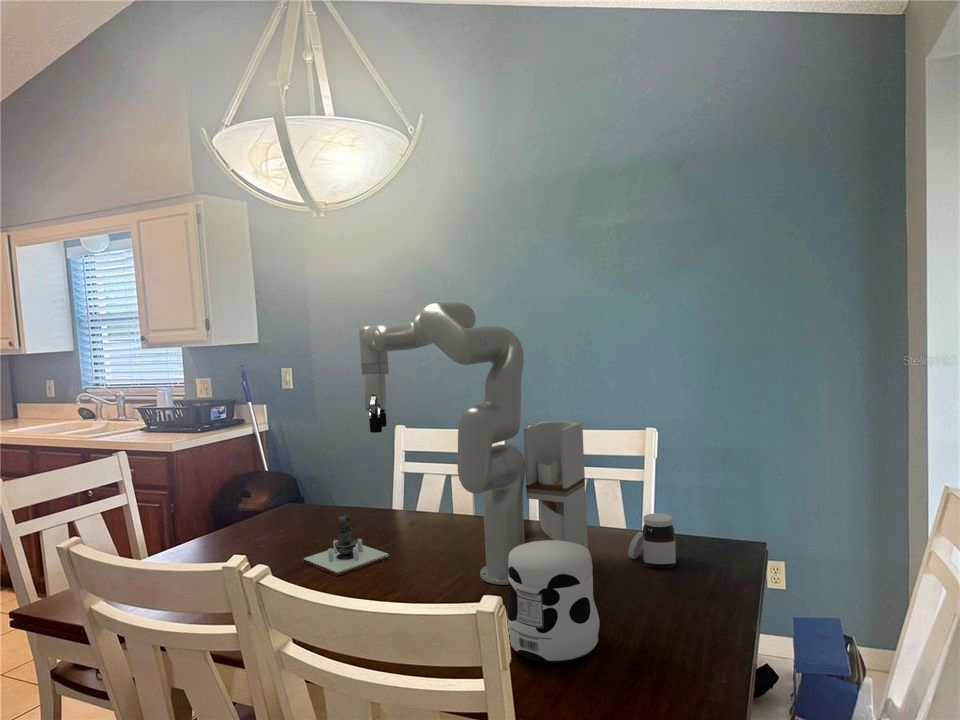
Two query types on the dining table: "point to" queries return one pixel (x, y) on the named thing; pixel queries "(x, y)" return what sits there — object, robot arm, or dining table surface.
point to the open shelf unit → (557, 478)
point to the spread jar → (655, 542)
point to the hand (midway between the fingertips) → (378, 429)
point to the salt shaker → (345, 539)
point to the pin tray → (336, 565)
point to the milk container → (552, 601)
